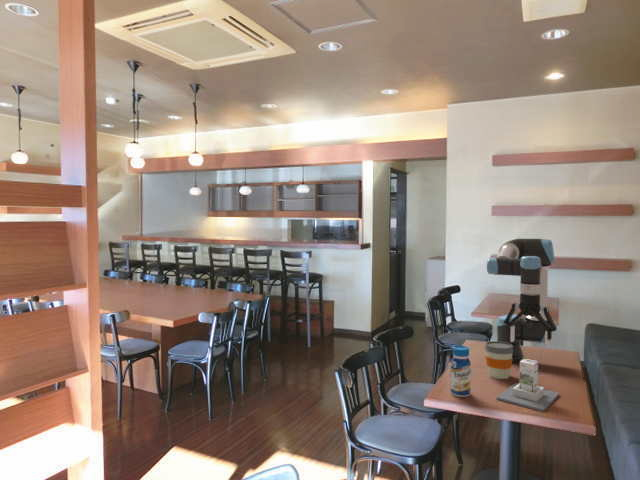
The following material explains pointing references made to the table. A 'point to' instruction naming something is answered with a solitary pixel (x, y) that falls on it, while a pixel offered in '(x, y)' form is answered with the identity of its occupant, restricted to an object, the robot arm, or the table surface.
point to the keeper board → (528, 397)
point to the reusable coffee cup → (499, 359)
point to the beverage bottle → (460, 372)
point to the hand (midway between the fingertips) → (529, 344)
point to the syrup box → (528, 375)
